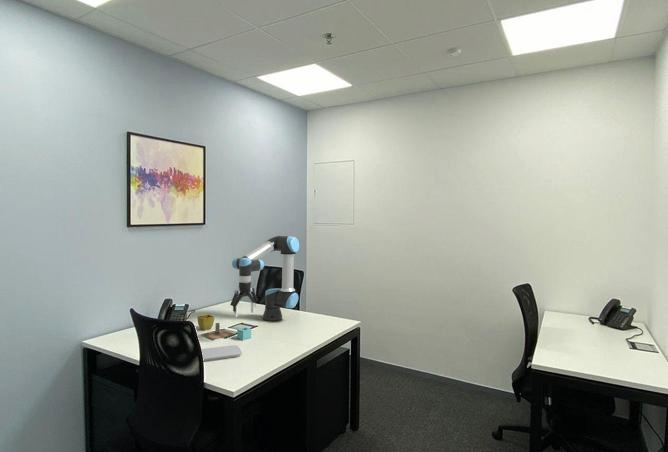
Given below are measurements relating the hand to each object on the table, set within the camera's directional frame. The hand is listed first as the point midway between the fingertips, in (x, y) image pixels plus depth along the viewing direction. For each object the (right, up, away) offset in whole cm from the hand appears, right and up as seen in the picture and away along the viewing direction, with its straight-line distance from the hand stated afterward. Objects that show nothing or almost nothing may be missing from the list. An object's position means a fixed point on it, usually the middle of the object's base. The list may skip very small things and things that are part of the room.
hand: (244, 314), depth 248 cm
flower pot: (-31, -15, +18) cm, 39 cm away
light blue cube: (0, -16, +1) cm, 16 cm away
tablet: (-9, -17, -30) cm, 36 cm away
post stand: (-19, -15, +6) cm, 25 cm away
